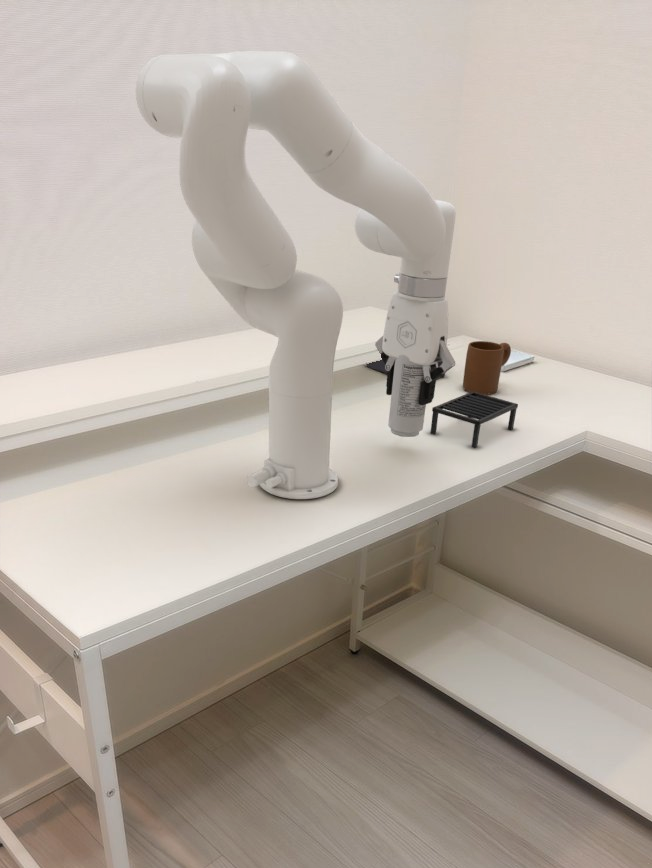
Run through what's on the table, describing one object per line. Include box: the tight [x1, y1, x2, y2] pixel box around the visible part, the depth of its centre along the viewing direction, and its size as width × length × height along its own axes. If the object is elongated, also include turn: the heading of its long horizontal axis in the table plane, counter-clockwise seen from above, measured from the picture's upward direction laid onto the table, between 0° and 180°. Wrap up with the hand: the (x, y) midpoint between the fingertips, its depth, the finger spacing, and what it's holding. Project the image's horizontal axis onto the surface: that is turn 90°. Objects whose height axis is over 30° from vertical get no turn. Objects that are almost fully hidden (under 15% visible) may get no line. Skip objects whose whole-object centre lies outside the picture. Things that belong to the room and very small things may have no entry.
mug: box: [462, 340, 512, 395], centre depth 172 cm, size 12×8×9 cm, turn 130°
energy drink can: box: [387, 355, 427, 438], centre depth 135 cm, size 6×6×15 cm
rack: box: [430, 391, 519, 449], centre depth 150 cm, size 14×10×5 cm
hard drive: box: [501, 349, 535, 372], centre depth 191 cm, size 2×8×12 cm
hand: (409, 397), depth 136 cm, fingers closed on energy drink can, 6 cm apart
